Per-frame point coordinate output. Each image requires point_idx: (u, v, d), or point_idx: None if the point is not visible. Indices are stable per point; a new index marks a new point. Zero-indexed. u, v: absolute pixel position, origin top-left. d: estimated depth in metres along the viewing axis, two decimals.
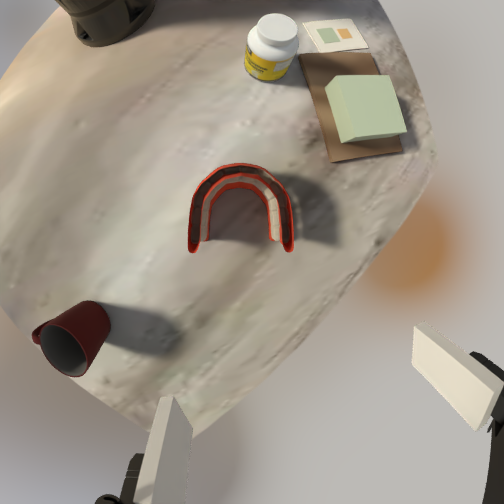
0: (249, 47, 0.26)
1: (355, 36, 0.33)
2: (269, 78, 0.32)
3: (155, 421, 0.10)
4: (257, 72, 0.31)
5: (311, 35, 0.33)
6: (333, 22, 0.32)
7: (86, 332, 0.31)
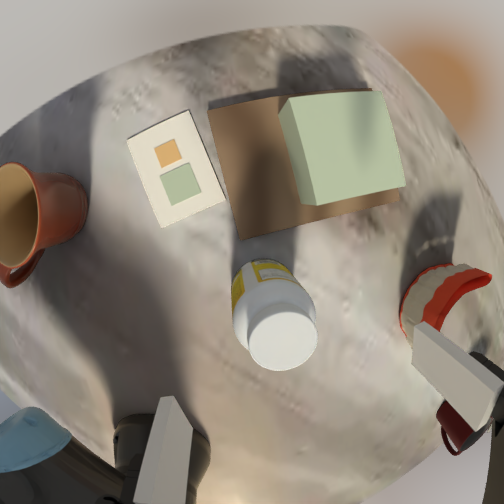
0: None
1: (169, 133, 0.24)
2: None
3: (155, 421, 0.10)
4: None
5: (188, 214, 0.26)
6: (146, 172, 0.25)
7: None
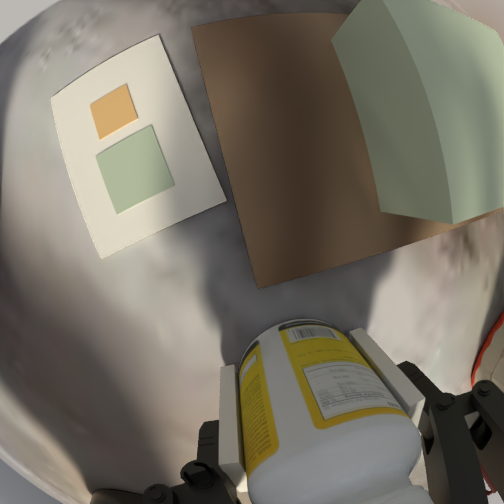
0: None
1: (119, 75, 0.10)
2: None
3: (222, 388, 0.12)
4: None
5: (148, 231, 0.12)
6: (75, 151, 0.11)
7: None
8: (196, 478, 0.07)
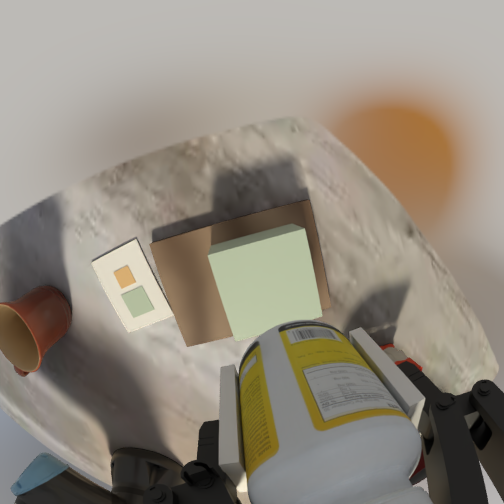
0: None
1: (123, 260, 0.29)
2: None
3: (222, 388, 0.12)
4: None
5: (146, 324, 0.31)
6: (111, 291, 0.30)
7: None
8: (197, 478, 0.07)
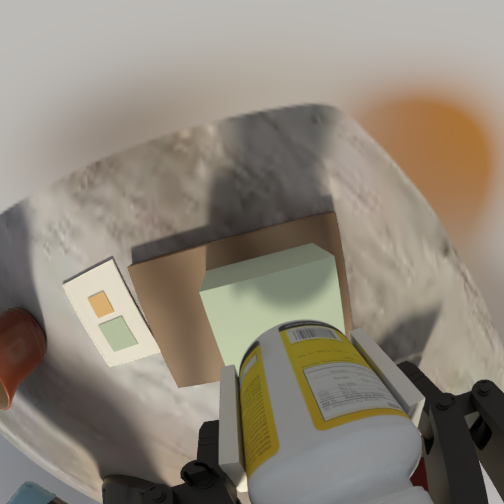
0: None
1: (98, 284, 0.22)
2: None
3: (222, 388, 0.12)
4: None
5: (129, 359, 0.24)
6: (86, 320, 0.23)
7: (426, 487, 0.27)
8: (196, 478, 0.07)
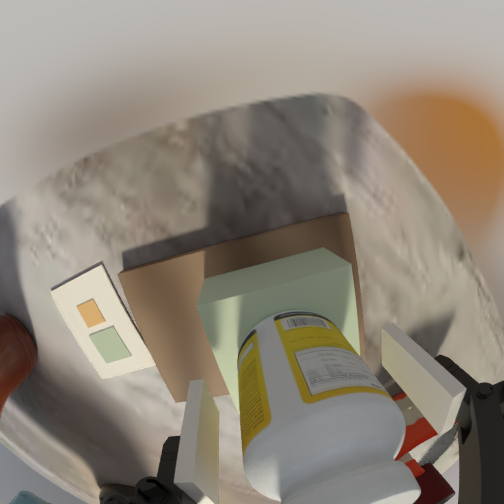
0: None
1: (87, 291, 0.20)
2: None
3: (188, 403, 0.11)
4: None
5: (123, 372, 0.22)
6: (76, 329, 0.21)
7: (432, 494, 0.24)
8: (150, 494, 0.06)
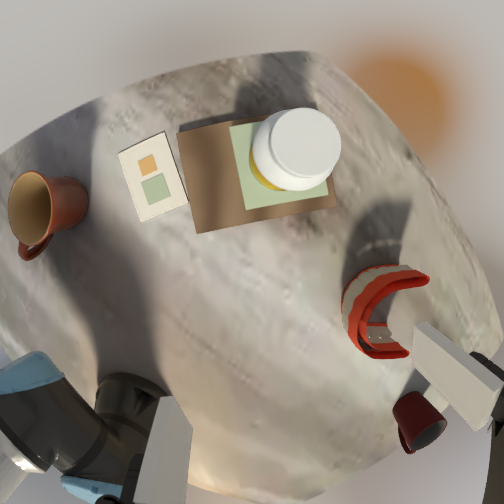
0: None
1: (149, 150, 0.32)
2: None
3: (155, 421, 0.10)
4: None
5: (160, 212, 0.34)
6: (132, 179, 0.32)
7: (422, 418, 0.35)
8: None
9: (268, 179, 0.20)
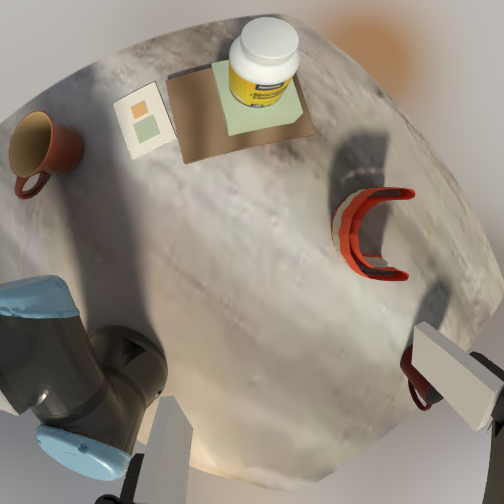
0: (278, 83, 0.21)
1: (141, 97, 0.32)
2: None
3: (155, 421, 0.10)
4: (285, 88, 0.25)
5: (150, 148, 0.34)
6: (124, 123, 0.33)
7: None
8: None
9: (243, 75, 0.20)
